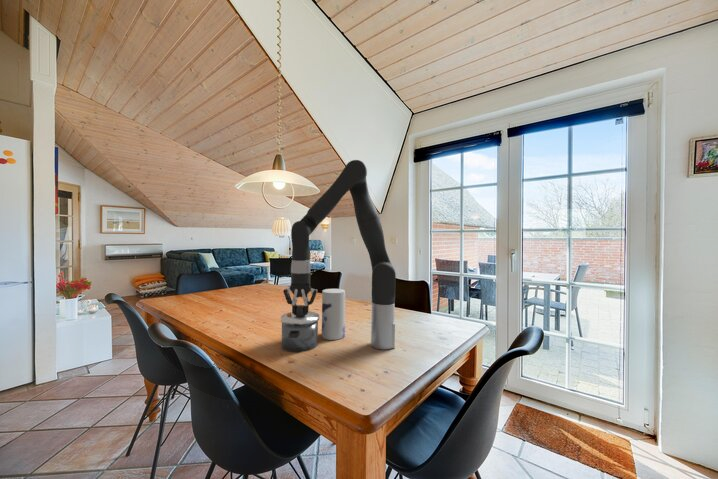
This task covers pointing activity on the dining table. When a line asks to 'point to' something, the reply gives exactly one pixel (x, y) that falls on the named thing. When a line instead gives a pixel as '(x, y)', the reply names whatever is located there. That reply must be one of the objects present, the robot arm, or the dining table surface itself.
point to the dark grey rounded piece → (299, 337)
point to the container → (333, 314)
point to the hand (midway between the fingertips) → (300, 314)
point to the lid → (299, 317)
